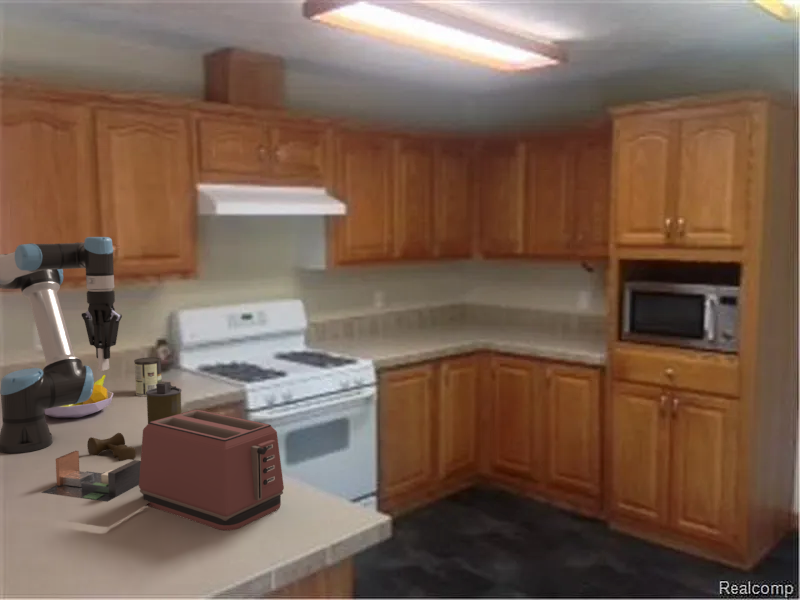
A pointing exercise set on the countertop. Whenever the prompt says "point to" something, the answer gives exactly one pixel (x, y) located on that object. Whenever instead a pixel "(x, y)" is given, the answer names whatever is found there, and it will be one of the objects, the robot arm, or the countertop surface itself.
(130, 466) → the grey slider puzzle board
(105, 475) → the cream cube block
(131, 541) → the countertop surface
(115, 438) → the kendama
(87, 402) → the fruit bowl
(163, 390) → the canister
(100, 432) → the countertop surface
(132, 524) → the countertop surface
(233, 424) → the toaster
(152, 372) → the coffee can
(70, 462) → the two-tone wooden block
